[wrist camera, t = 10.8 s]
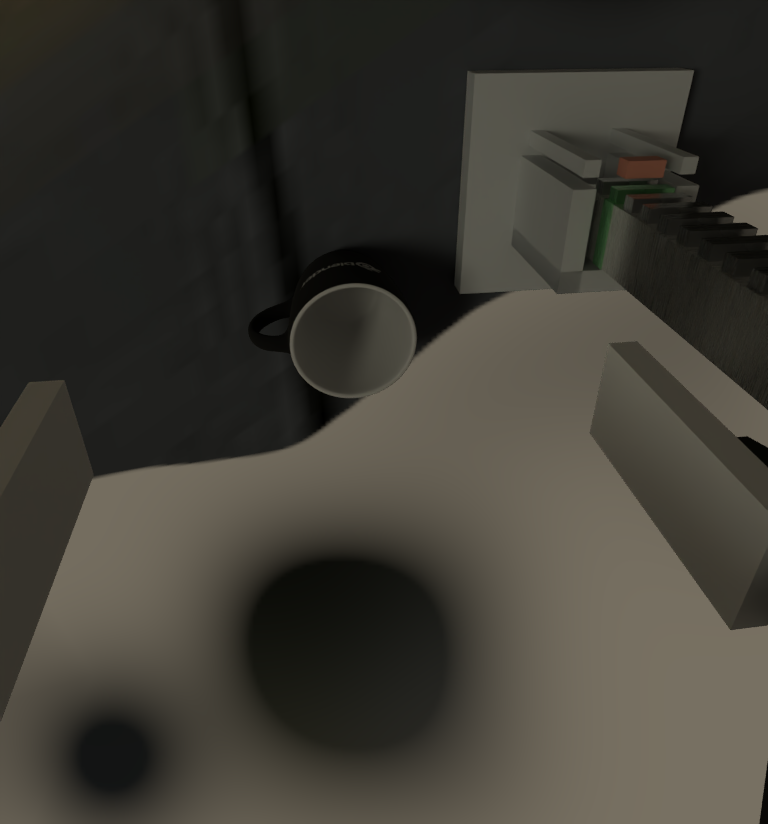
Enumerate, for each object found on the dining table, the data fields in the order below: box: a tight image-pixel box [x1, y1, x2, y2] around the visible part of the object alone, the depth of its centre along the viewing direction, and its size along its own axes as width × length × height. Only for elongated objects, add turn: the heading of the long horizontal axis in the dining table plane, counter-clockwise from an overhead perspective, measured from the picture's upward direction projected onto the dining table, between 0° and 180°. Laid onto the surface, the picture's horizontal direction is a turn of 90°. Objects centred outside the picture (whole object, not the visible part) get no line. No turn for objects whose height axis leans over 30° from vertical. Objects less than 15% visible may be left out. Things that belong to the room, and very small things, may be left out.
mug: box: [248, 250, 417, 398], centre depth 49 cm, size 12×9×10 cm
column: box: [585, 177, 768, 410], centre depth 35 cm, size 5×4×22 cm
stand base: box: [454, 68, 699, 294], centre depth 46 cm, size 16×16×13 cm
